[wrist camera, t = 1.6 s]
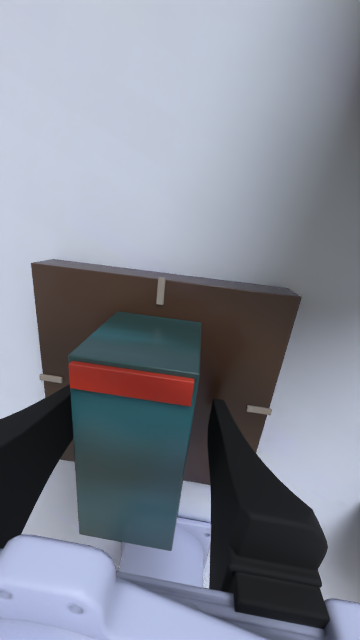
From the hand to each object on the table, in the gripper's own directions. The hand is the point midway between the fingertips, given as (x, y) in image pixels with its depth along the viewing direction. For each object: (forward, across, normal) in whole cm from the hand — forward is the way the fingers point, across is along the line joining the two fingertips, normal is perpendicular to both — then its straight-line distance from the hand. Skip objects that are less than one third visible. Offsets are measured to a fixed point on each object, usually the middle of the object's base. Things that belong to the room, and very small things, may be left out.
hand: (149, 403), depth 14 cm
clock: (+3, 0, 0) cm, 3 cm away
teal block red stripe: (+1, 0, 0) cm, 1 cm away
